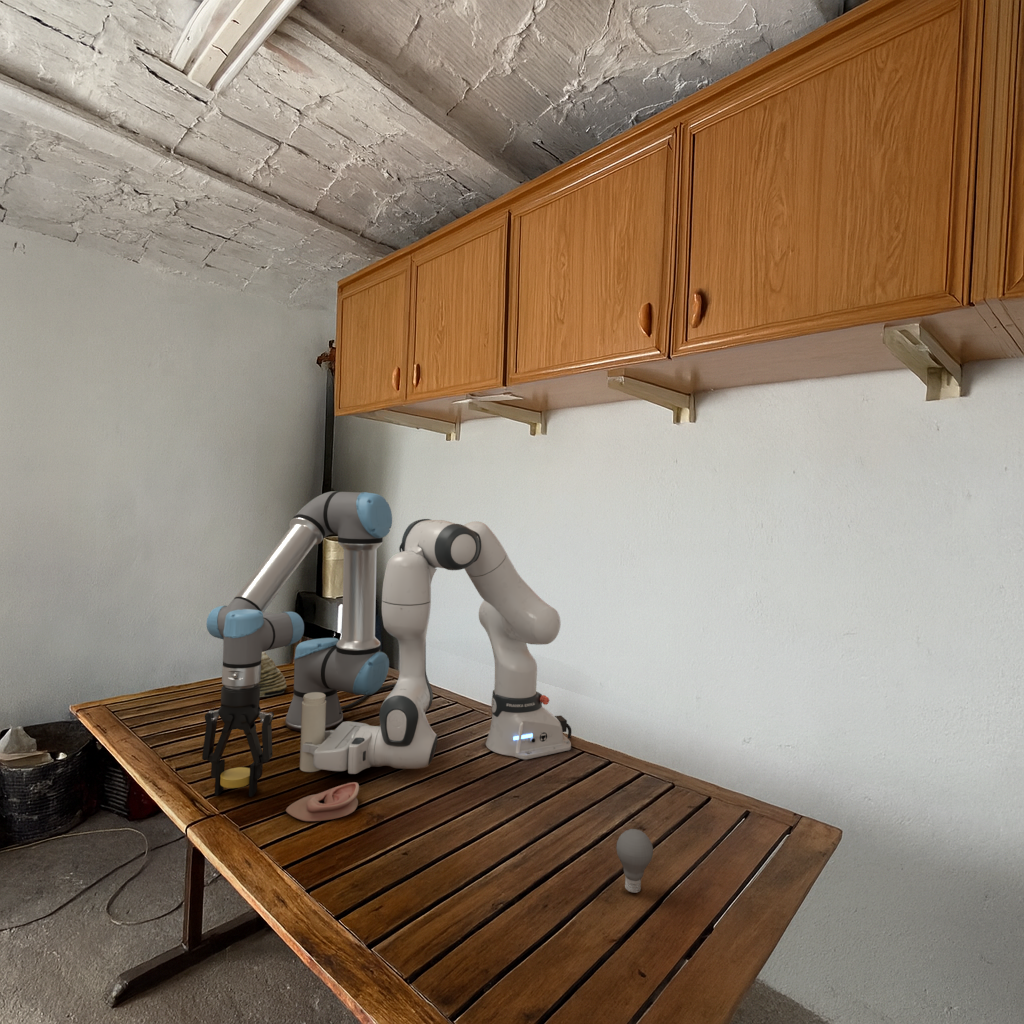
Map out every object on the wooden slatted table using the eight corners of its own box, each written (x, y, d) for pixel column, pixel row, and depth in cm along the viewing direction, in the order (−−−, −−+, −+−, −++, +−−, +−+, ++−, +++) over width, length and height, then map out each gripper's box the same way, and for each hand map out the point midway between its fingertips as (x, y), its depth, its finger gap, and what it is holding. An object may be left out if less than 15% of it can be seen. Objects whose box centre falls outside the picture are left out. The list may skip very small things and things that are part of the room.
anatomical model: (278, 797, 124) (308, 772, 135) (277, 817, 124) (307, 791, 136) (340, 806, 122) (366, 781, 133) (339, 827, 122) (365, 799, 133)
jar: (301, 773, 144) (303, 700, 144) (298, 764, 149) (300, 692, 149) (325, 770, 147) (328, 697, 146) (321, 760, 152) (324, 690, 151)
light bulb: (610, 879, 108) (613, 822, 108) (644, 879, 109) (647, 822, 109) (619, 902, 102) (622, 840, 102) (655, 901, 103) (658, 840, 103)
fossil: (218, 695, 195) (220, 647, 195) (278, 685, 208) (279, 640, 207) (228, 703, 189) (230, 653, 188) (289, 692, 201) (290, 645, 201)
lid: (253, 786, 132) (253, 777, 132) (219, 790, 129) (220, 781, 129) (251, 773, 138) (252, 765, 138) (220, 777, 135) (220, 769, 135)
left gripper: (185, 687, 129) (180, 800, 129) (281, 691, 130) (276, 802, 130) (202, 677, 137) (197, 783, 137) (292, 681, 138) (287, 786, 138)
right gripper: (379, 716, 157) (325, 713, 158) (353, 748, 137) (291, 744, 138) (378, 742, 157) (324, 738, 158) (352, 777, 137) (290, 773, 138)
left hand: (236, 792), depth 134 cm, fingers closed on lid, 6 cm apart
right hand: (308, 741), depth 148 cm, fingers closed on jar, 5 cm apart
